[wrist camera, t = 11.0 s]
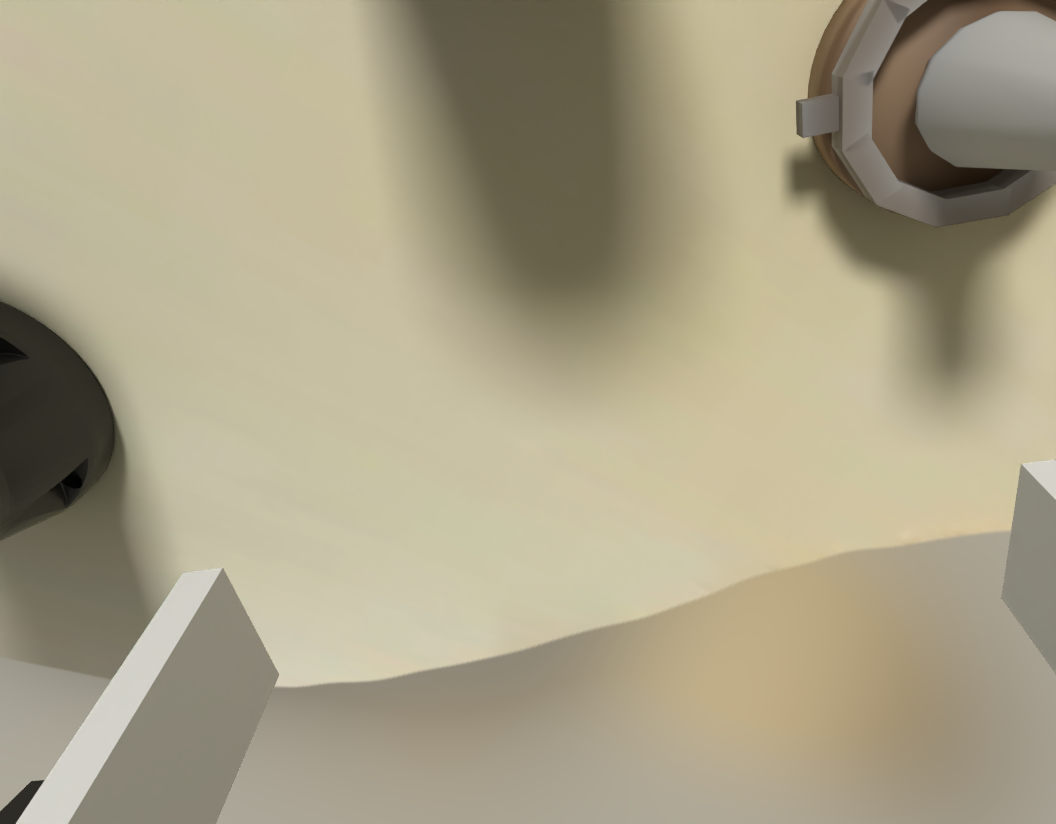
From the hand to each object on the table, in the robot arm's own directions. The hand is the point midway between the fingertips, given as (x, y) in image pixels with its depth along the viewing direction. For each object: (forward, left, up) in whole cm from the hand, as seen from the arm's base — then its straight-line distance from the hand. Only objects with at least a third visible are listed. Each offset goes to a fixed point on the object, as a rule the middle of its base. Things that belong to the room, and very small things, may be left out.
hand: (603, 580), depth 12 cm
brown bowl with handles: (+17, +2, -29) cm, 33 cm away
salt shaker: (+17, +2, -26) cm, 31 cm away
